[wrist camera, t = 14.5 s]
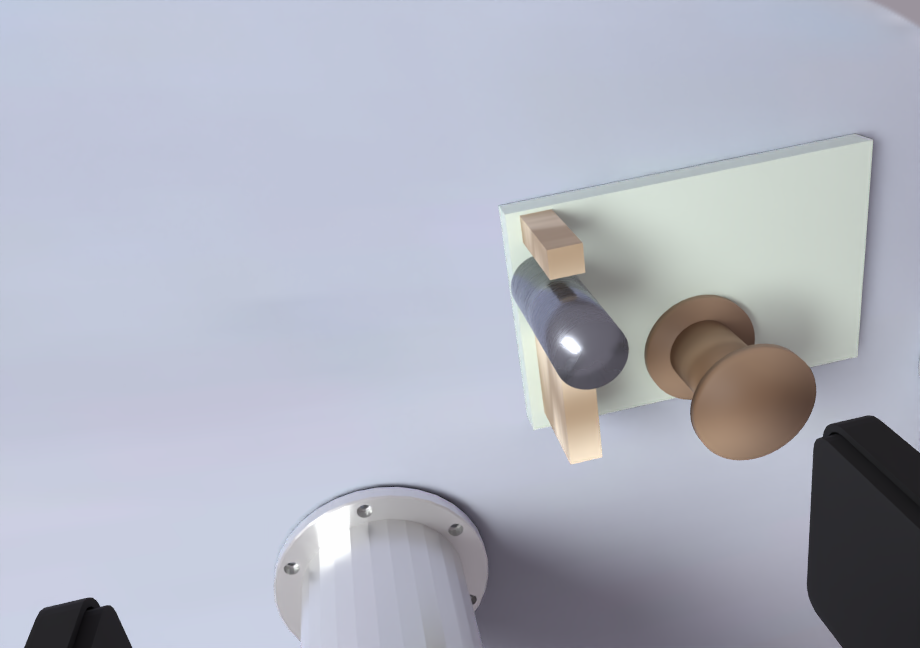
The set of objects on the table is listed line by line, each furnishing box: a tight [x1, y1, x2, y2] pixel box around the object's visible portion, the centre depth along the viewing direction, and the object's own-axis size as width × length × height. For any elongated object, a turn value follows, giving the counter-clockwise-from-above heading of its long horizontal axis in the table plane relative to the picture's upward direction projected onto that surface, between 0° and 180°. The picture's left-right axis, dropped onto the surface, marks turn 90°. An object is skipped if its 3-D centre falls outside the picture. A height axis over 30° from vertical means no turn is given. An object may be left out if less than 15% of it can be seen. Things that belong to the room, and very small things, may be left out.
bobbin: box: [644, 295, 816, 460], centre depth 41 cm, size 6×6×6 cm
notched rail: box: [520, 209, 602, 464], centre depth 40 cm, size 11×2×5 cm, turn 9°
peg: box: [511, 256, 629, 390], centre depth 38 cm, size 3×3×8 cm
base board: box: [499, 134, 873, 430], centre depth 43 cm, size 12×19×2 cm, turn 99°
